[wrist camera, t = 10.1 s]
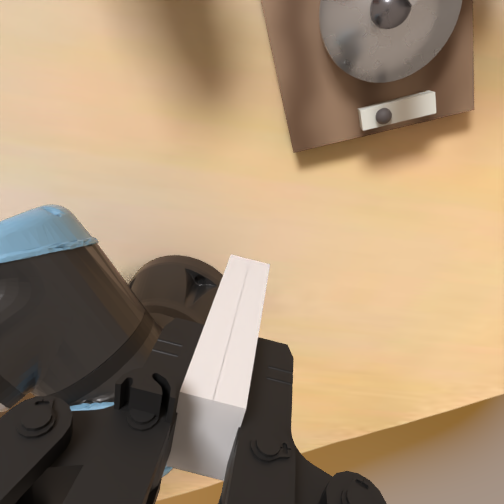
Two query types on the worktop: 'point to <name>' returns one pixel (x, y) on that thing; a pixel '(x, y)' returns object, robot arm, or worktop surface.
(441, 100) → the stand
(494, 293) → the worktop surface
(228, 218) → the worktop surface
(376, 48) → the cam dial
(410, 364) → the worktop surface
